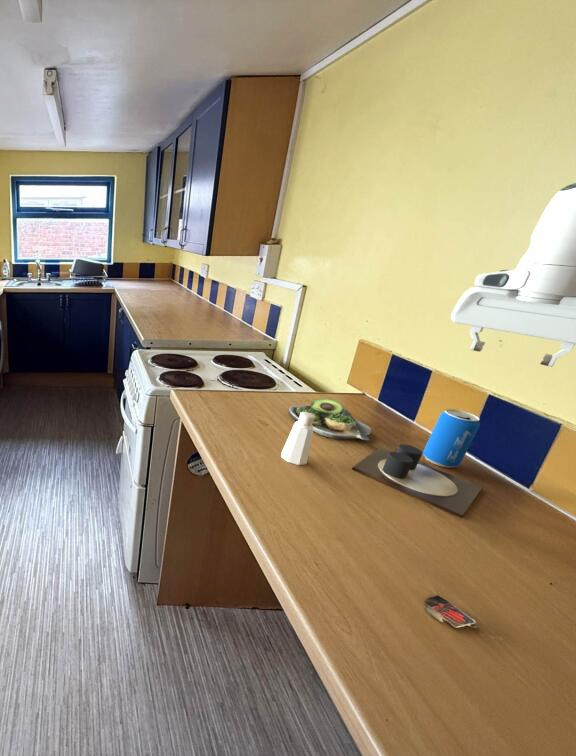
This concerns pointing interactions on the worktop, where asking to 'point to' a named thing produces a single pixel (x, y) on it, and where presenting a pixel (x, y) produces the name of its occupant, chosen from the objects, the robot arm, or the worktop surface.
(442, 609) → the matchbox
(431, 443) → the beverage can
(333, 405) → the salad plate
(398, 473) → the dot right
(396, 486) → the board
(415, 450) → the dot left
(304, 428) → the pepper shaker
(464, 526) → the worktop surface
